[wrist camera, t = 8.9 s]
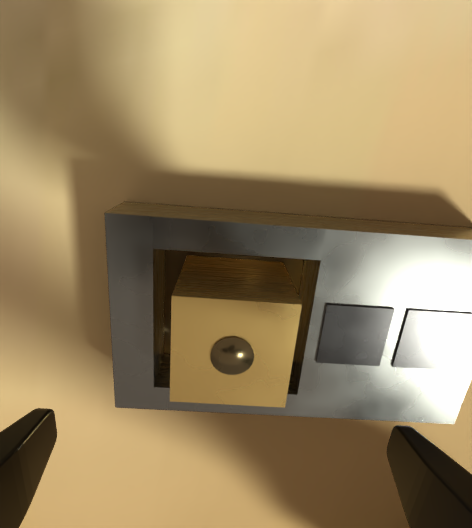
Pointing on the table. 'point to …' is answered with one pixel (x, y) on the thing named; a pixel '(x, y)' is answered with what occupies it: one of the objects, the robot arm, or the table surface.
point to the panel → (309, 309)
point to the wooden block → (233, 332)
